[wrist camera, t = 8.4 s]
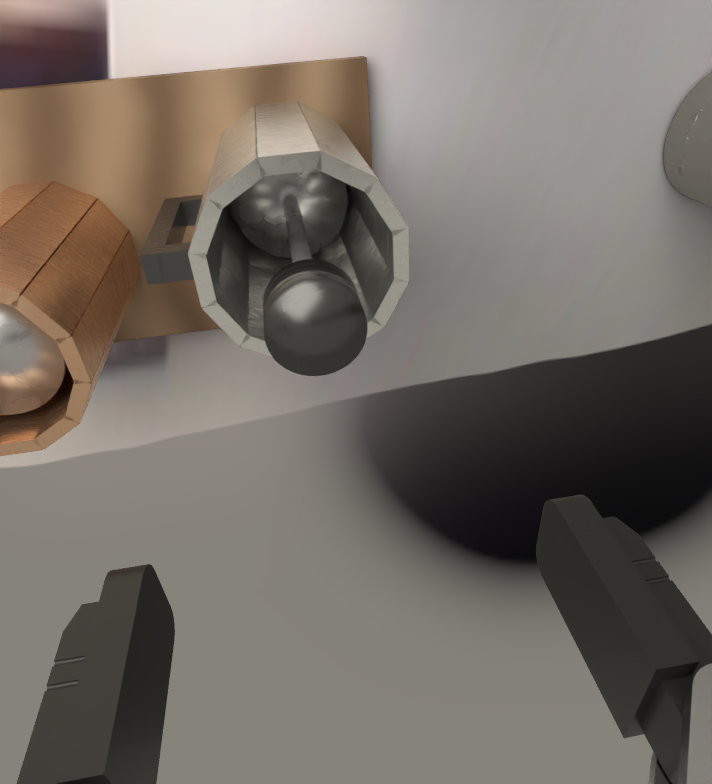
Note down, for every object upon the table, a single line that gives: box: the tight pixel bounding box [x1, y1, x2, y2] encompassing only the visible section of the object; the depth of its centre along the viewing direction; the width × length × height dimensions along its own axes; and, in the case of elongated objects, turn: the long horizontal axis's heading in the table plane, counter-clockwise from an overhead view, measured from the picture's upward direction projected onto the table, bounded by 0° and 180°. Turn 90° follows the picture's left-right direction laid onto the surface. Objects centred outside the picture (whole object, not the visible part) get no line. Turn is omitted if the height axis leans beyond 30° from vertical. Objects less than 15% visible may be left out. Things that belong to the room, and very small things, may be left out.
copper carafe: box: [0, 181, 141, 456], centre depth 30 cm, size 12×9×14 cm
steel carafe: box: [139, 101, 409, 358], centre depth 29 cm, size 12×9×14 cm
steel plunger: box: [232, 170, 368, 376], centre depth 26 cm, size 7×7×16 cm
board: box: [0, 56, 372, 342], centre depth 36 cm, size 26×16×1 cm, turn 94°
